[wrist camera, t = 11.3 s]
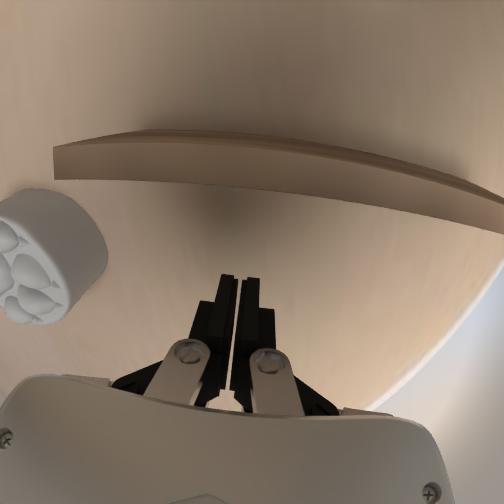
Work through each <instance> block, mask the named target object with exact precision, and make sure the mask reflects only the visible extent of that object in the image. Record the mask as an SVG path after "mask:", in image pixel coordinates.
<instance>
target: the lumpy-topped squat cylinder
mask: <svg viewBox="0 0 504 504" xmlns="http://www.w3.org/2000/svg"><path fill="white" fill-rule="evenodd" d="M107 262H108V251H107V246H106V243H105V241H104V238H103V236H102V234H101V232H100V231H99V229H98V227H97V226H96V224H95V223H94V221H93V220H92V219H91V217H90V216H89V215H88V214H87V213H86V212H85V211H84V210H83V209H82V208H81V207H80V206H79V205H78V204H77V203H76V202H75V201H73V200H72V199H71V198H69V197H68V196H65V195H63V194H60V193H57V192H53V191H49V190H43V189H26V190H24V191H21V192H19V193H17V194H15V195H13V196H11V197H9V198H7V199H5V200H3V201H1V202H0V306H1V307H3V308H4V310H5V313H6V315H7V316H8V318H9V319H10V320H12V321H13V322H15V323H17V324H27V323H33V324H36V325H47V324H52V323H56V322H58V321H60V320H61V319H63V318H64V317H65V316H66V315H67V313H68V312H69V311H70V310H71V309H72V307H73V306H74V305H75V304H76V303H77V301H78V300H79V299H80V298H81V297H82V295H83V294H84V293H85V292H86V291H87V290H88V288H89V287H90V286H91V285H92V284H93V283H94V282H95V280H96V279H97V278H98V277H99V276H100V275H101V274H102V272H103V271H104V269H105V268H106V265H107Z"/></svg>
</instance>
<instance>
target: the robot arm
mask: <svg viewBox="0 0 504 504" xmlns="http://www.w3.org/2000/svg"><path fill="white" fill-rule="evenodd" d="M237 288H238V279H234V275H227V274H222V275H221V278H220V282H219V286H218V290H217V294H216V298H215V302H209V301H200V303H199V306H198V309H197V312H196V315H195V318H194V321H193V325H192V328H191V331H190V334H189V337H188V339H183V340H179V341H178V342H176V343H174V344H173V346H172V347H171V348H170V350H169V352H168V353H167V355H166V357H165V358H164V360H162V361H160V362H157V363H155V364H153V365H150V366H148V367H145V368H143V369H141V370H138V371H136V372H133V373H131V374H128V375H126V376H123V377H121V378H119V379H117V380H116V381H115V382H113V381H110V379H108V378H96V377H86V376H77V375H69V374H65V375H55V374H40V375H33V376H29V377H27V378H25V379H24V380H22V381H21V382H20V383H19V384H18V385H17V386H16V387H15V388H14V389H13V390H12V392H11V393H10V394H9V395H8V397H7V398H6V400H5V401H4V403H3V404H2V406H1V408H0V504H455V503H454V498H453V493H452V489H451V485H450V481H449V478H448V474H447V471H446V468H445V465H444V461H443V459H442V456H441V454H440V451H439V448H438V446H437V444H436V442H435V440H434V438H433V437H432V435H431V434H430V432H429V431H428V430H427V429H426V428H425V427H424V426H422V425H421V424H419V423H416V422H414V421H411V420H408V419H403V418H399V417H394V416H393V415H390V414H387V413H378V412H371V411H364V410H357V409H351V408H345V407H344V408H343V410H341V409H337V407H336V406H334V405H333V404H332V403H331V402H330V401H328V400H327V399H325V398H324V397H323V396H321V395H320V394H318V393H317V392H316V391H314V390H313V389H312V388H310V387H309V386H308V385H306V384H305V383H304V382H302V381H301V380H300V379H298V378H297V377H296V376H294V375H293V372H292V368H291V365H290V361H289V359H288V357H287V356H286V355H285V354H284V353H282V352H280V351H279V350H276V336H275V312H274V309H267V308H259V289H260V278H252V277H247V280H242V286H241V294H240V302H239V310H238V317H237V325H236V333H235V342H234V351H233V361H232V370H231V380H230V389H229V390H232V391H235V392H234V398H235V399H236V400H237V401H238V402H239V403H240V404H241V405H242V412H236V411H227V410H219V409H212V408H208V406H209V401H210V400H212V399H214V398H215V397H217V396H219V393H220V389H223V390H225V387H226V380H227V372H228V365H229V357H230V350H231V342H232V335H233V327H234V317H235V307H236V298H237Z"/></svg>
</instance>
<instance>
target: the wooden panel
mask: <svg viewBox="0 0 504 504" xmlns="http://www.w3.org/2000/svg"><path fill="white" fill-rule="evenodd" d="M53 160H54V179H55V180H66V179H96V180H137V181H160V182H178V183H193V184H206V185H219V186H230V187H241V188H250V189H260V190H269V191H278V192H286V193H294V194H301V195H309V196H316V197H323V198H330V199H337V200H343V201H349V202H356V203H362V204H367V205H373V206H379V207H384V208H390V209H395V210H400V211H405V212H410V213H415V214H420V215H425V216H430V217H434V218H439V219H443V220H448V221H452V222H457V223H461V224H465V225H469V226H473V227H477V228H481V229H485V230H489V231H492V232H496V233H500V234H504V198H502V197H500V196H498V195H496V194H494V193H492V192H490V191H488V190H486V189H484V188H482V187H480V186H477V185H475V184H473V183H471V182H468V181H466V180H463V179H460V178H457V177H454V176H451V175H448V174H445V173H442V172H439V171H435V170H432V169H429V168H425V167H422V166H418V165H415V164H411V163H408V162H404V161H400V160H396V159H392V158H388V157H384V156H380V155H375V154H371V153H367V152H362V151H357V150H352V149H347V148H342V147H337V146H332V145H326V144H320V143H314V142H308V141H301V140H294V139H287V138H279V137H271V136H262V135H252V134H241V133H228V132H213V131H190V130H141V131H134V132H127V133H120V134H114V135H108V136H103V137H97V138H92V139H87V140H82V141H77V142H73V143H68V144H64V145H60V146H56V147H53Z"/></svg>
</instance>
